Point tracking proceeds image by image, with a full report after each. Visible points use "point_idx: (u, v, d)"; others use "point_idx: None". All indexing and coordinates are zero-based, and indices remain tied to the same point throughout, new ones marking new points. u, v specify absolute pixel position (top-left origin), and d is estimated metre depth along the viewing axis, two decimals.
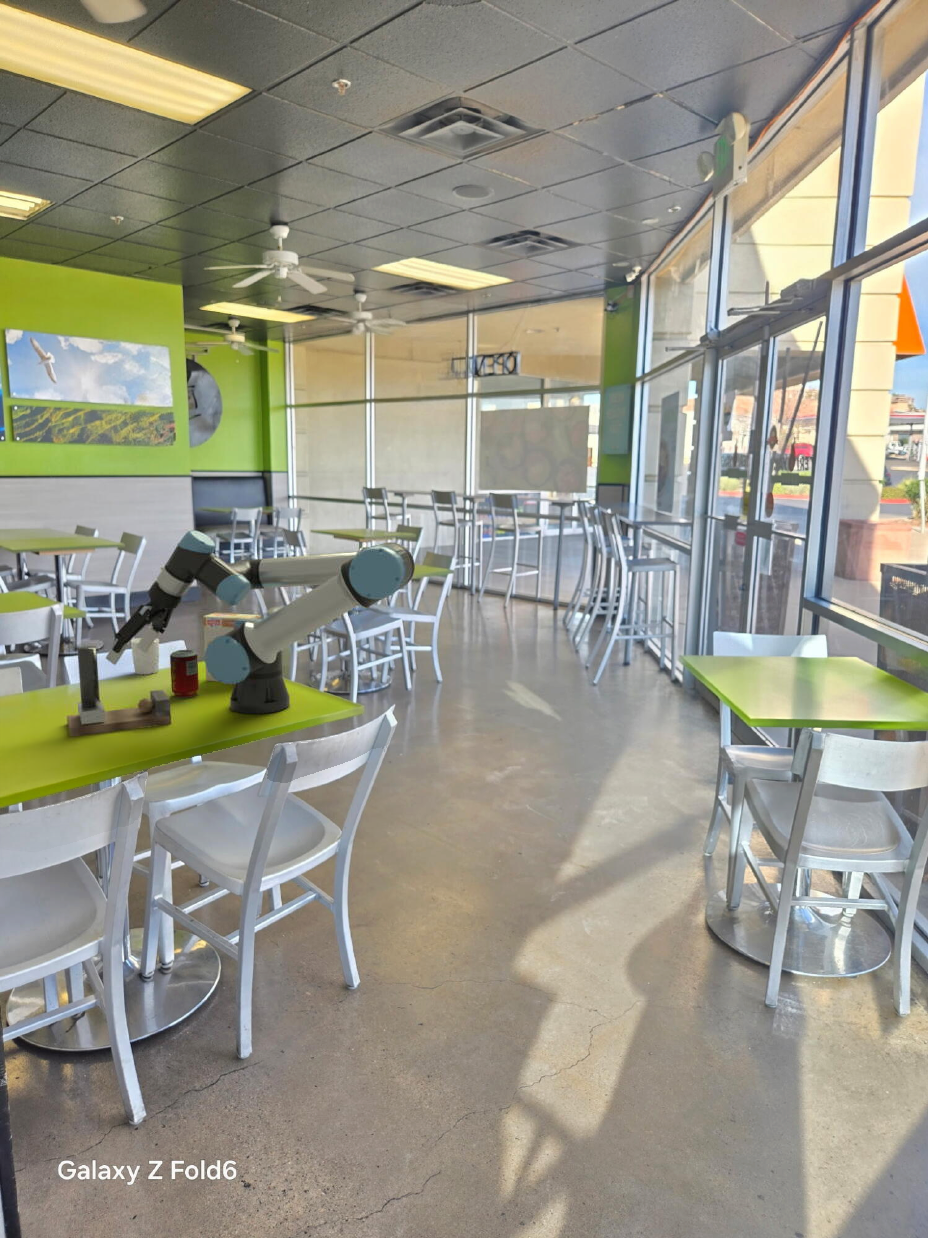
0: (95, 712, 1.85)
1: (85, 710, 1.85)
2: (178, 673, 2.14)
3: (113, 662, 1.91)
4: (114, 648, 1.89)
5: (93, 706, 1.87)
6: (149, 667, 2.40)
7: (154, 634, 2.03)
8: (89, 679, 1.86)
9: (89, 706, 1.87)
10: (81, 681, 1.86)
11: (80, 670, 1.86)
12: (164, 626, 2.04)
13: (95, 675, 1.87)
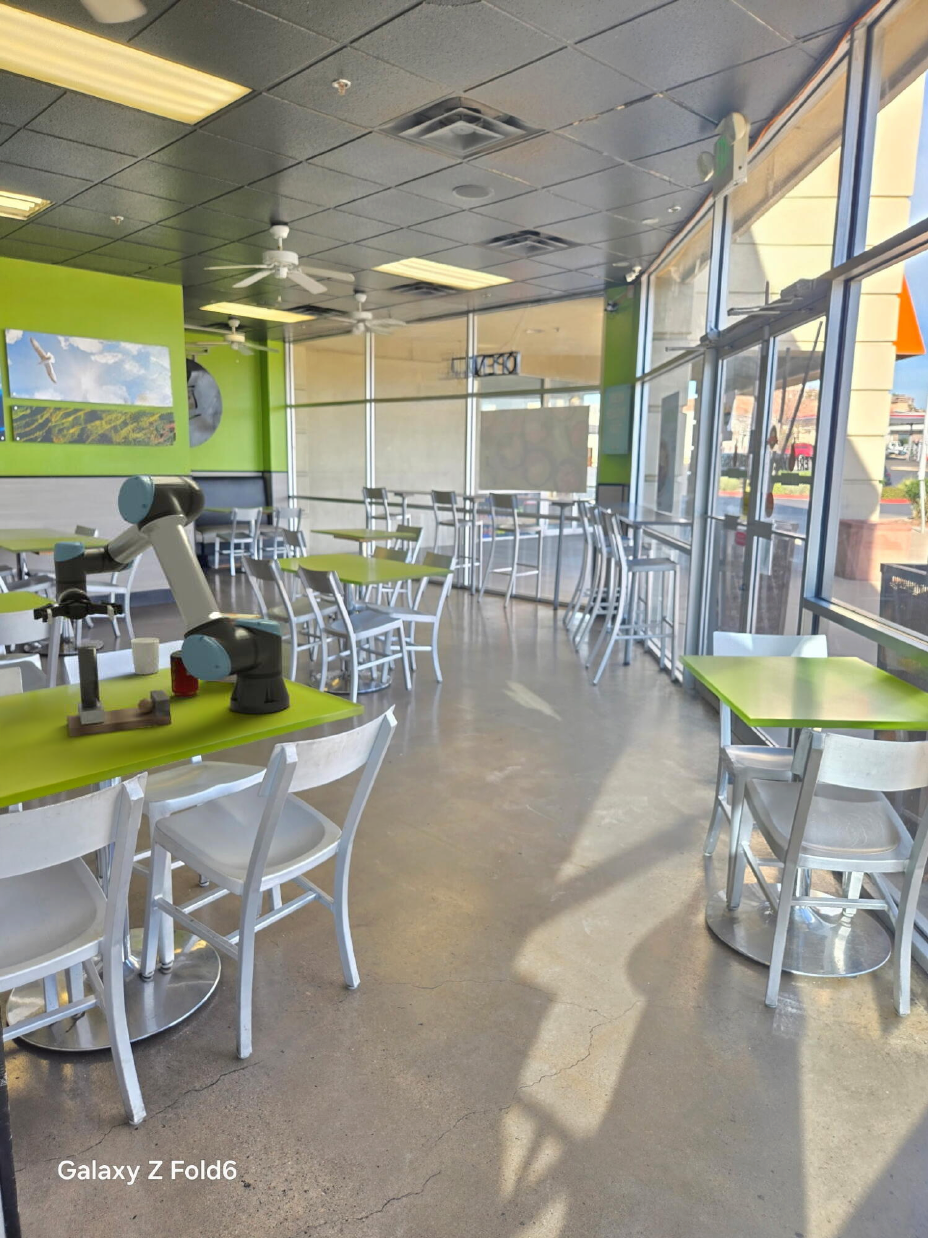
0: (95, 712, 1.85)
1: (85, 710, 1.85)
2: (178, 673, 2.14)
3: (48, 615, 1.90)
4: (42, 617, 1.93)
5: (93, 706, 1.87)
6: (149, 667, 2.40)
7: (107, 608, 2.02)
8: (89, 679, 1.86)
9: (89, 706, 1.87)
10: (81, 681, 1.86)
11: (80, 670, 1.86)
12: (116, 605, 2.05)
13: (95, 675, 1.87)
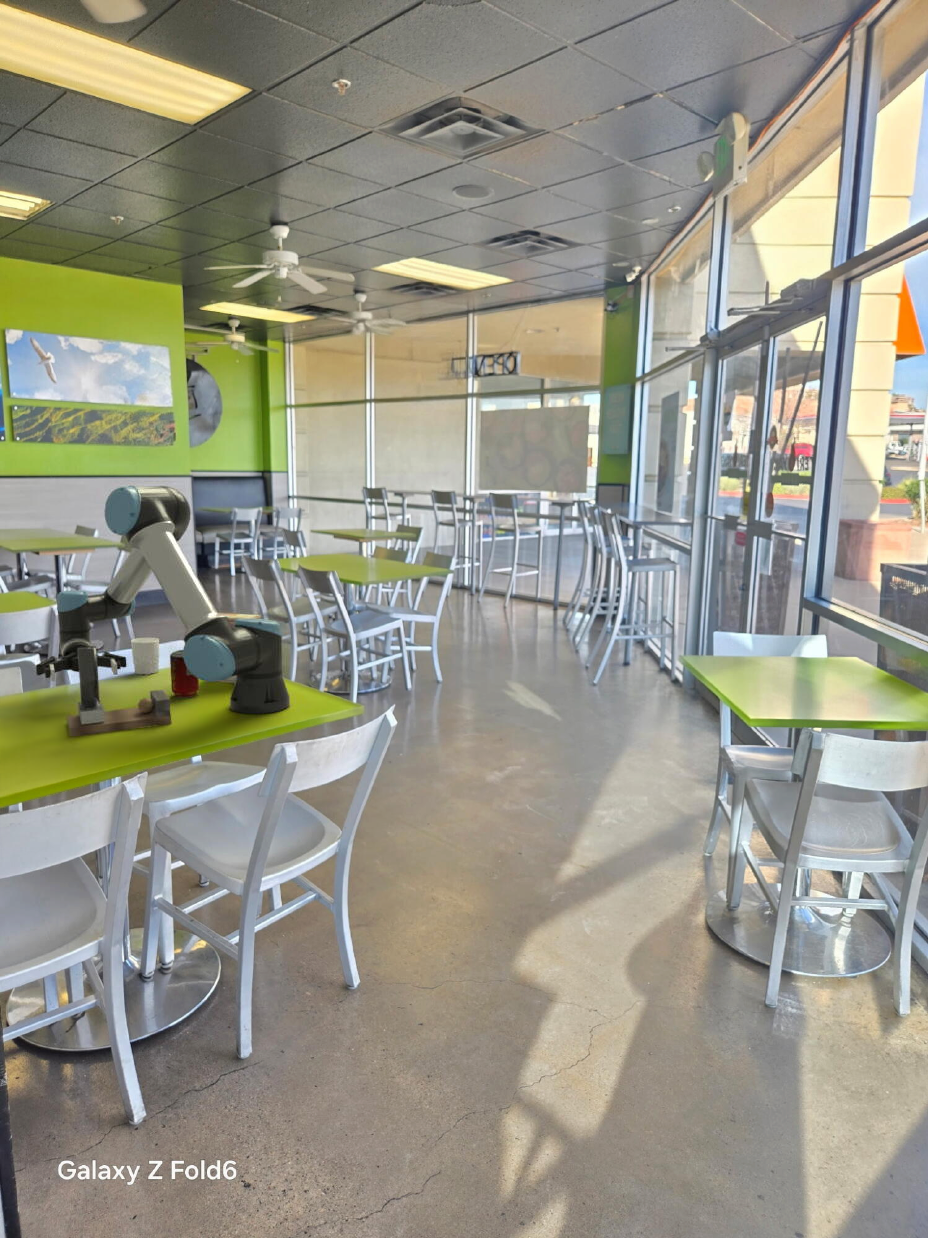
0: (95, 712, 1.85)
1: (85, 710, 1.85)
2: (178, 673, 2.14)
3: (51, 671, 1.88)
4: (45, 673, 1.91)
5: (93, 706, 1.87)
6: (149, 667, 2.40)
7: (111, 661, 1.99)
8: (89, 679, 1.86)
9: (89, 706, 1.87)
10: (81, 681, 1.86)
11: (80, 670, 1.86)
12: (119, 657, 2.02)
13: (95, 675, 1.87)
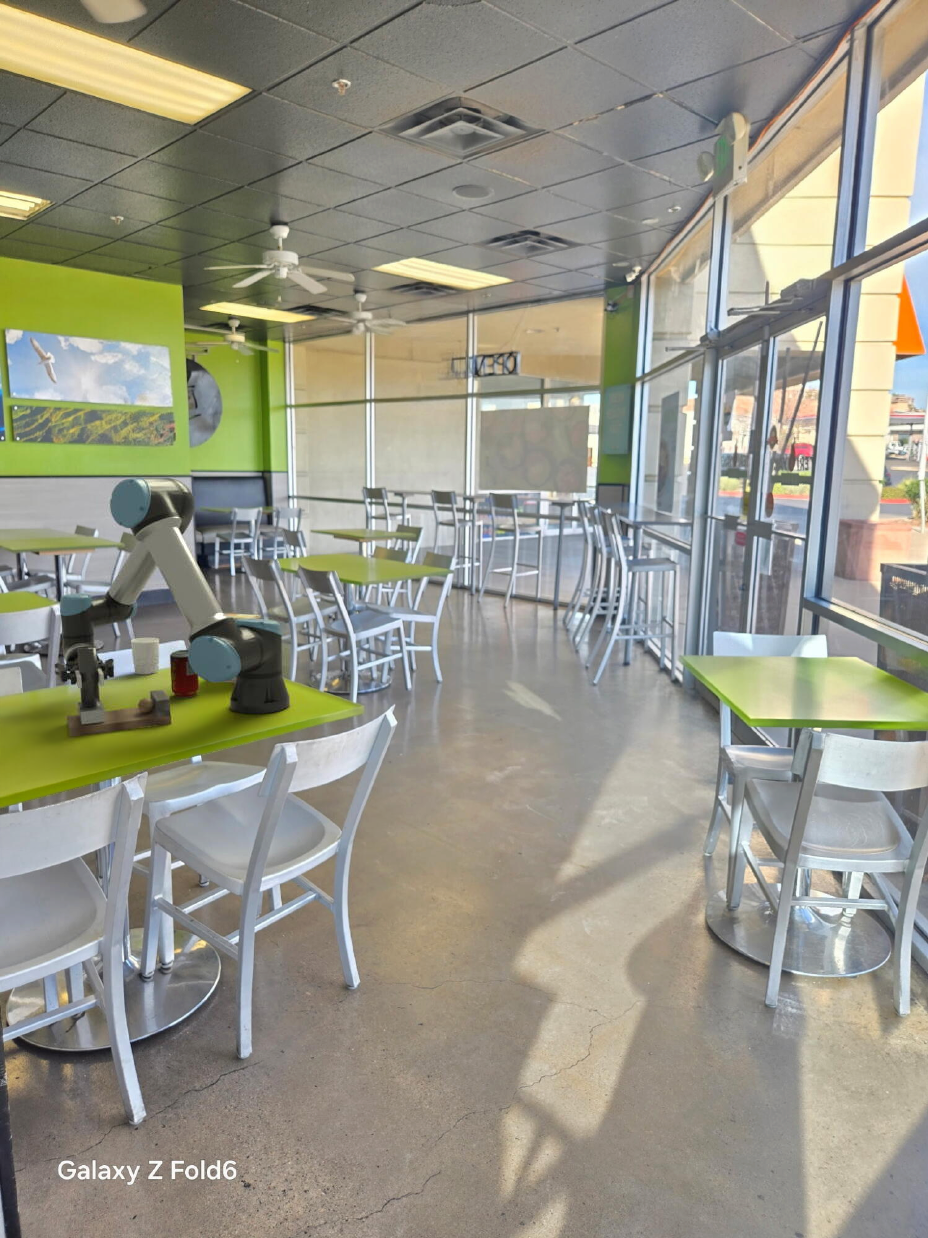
0: (95, 712, 1.85)
1: (85, 710, 1.85)
2: (178, 673, 2.14)
3: (77, 678, 1.82)
4: (71, 680, 1.85)
5: (93, 706, 1.87)
6: (149, 667, 2.40)
7: None
8: (89, 679, 1.86)
9: (89, 706, 1.87)
10: (81, 681, 1.86)
11: (80, 670, 1.86)
12: (107, 666, 1.92)
13: (95, 675, 1.87)
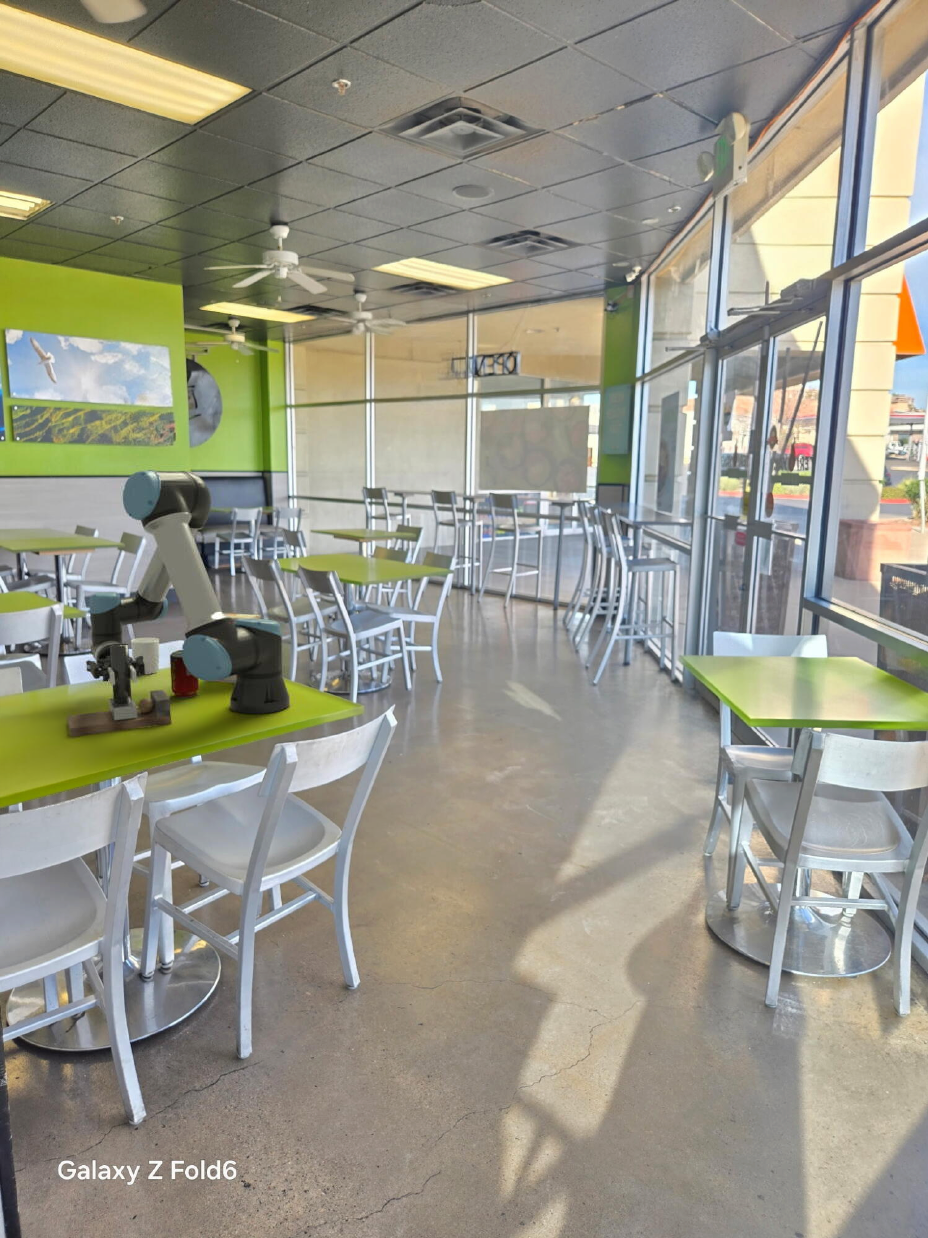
0: (127, 708, 1.89)
1: (118, 706, 1.88)
2: (178, 673, 2.14)
3: (110, 675, 1.85)
4: (104, 677, 1.88)
5: (125, 702, 1.91)
6: (149, 667, 2.40)
7: None
8: (121, 676, 1.89)
9: (121, 702, 1.90)
10: None
11: (113, 667, 1.89)
12: (138, 664, 1.96)
13: (127, 672, 1.90)
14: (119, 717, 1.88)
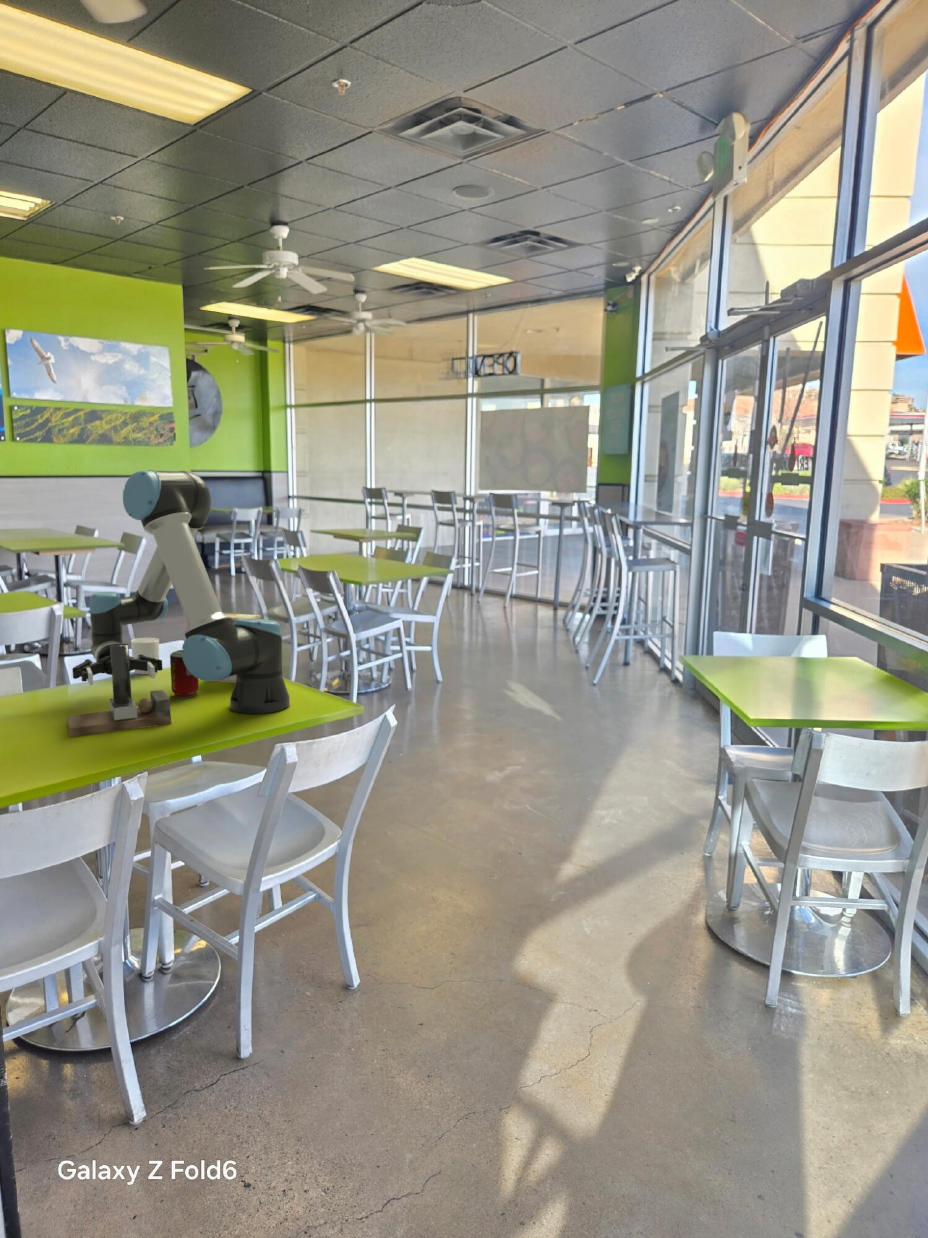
0: (127, 708, 1.89)
1: (118, 706, 1.88)
2: (178, 673, 2.14)
3: (88, 675, 1.85)
4: (82, 677, 1.88)
5: (125, 702, 1.91)
6: None
7: (147, 664, 1.96)
8: (121, 676, 1.89)
9: (121, 702, 1.90)
10: (114, 678, 1.89)
11: (113, 667, 1.89)
12: (155, 660, 1.99)
13: (127, 672, 1.90)
14: (119, 717, 1.88)
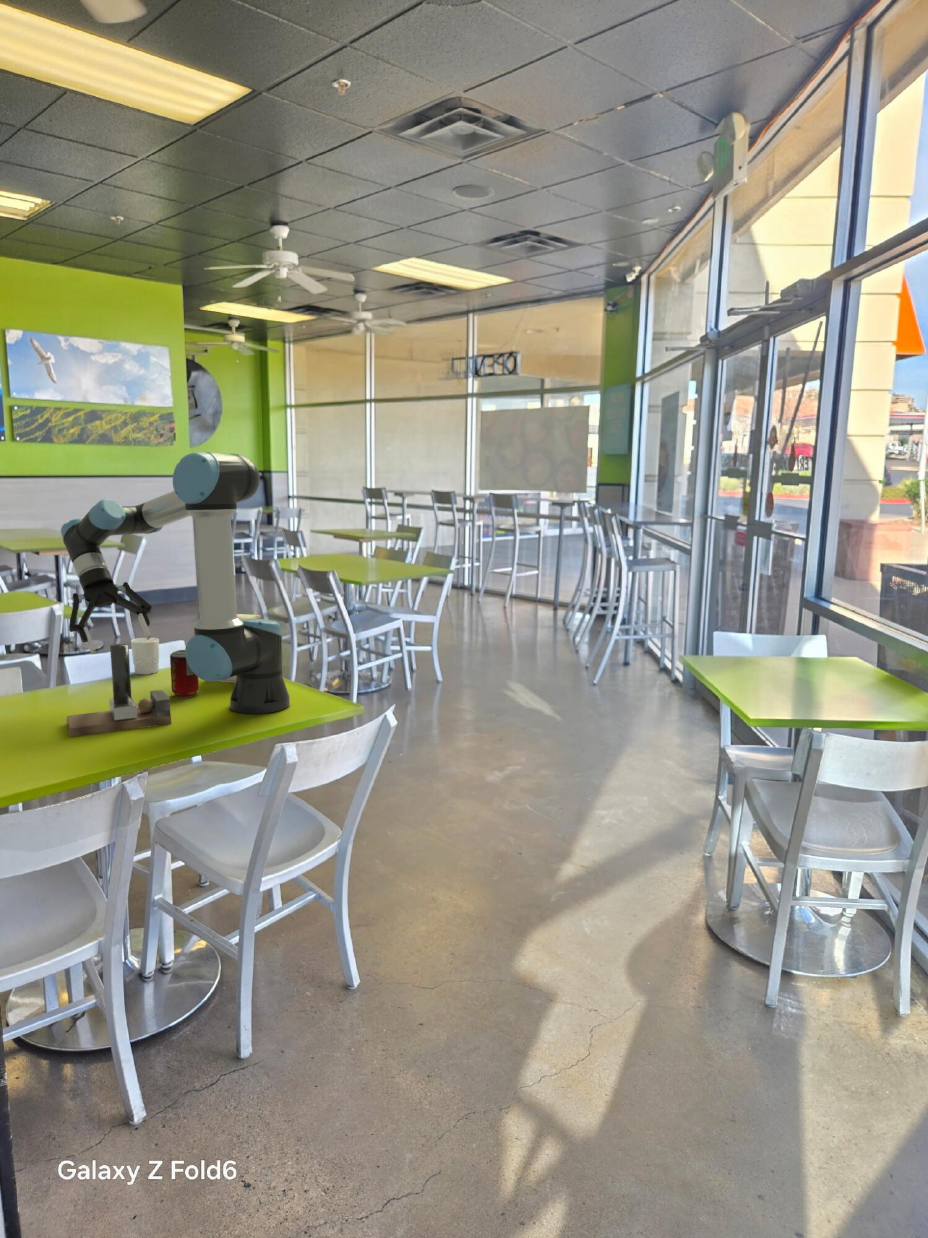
0: (127, 708, 1.89)
1: (118, 706, 1.88)
2: (178, 673, 2.14)
3: (91, 649, 1.98)
4: (81, 639, 1.99)
5: (125, 702, 1.91)
6: (149, 667, 2.40)
7: (139, 617, 2.07)
8: (121, 676, 1.89)
9: (121, 702, 1.90)
10: (114, 678, 1.89)
11: (113, 667, 1.89)
12: (145, 607, 2.08)
13: (127, 672, 1.90)
14: (119, 717, 1.88)
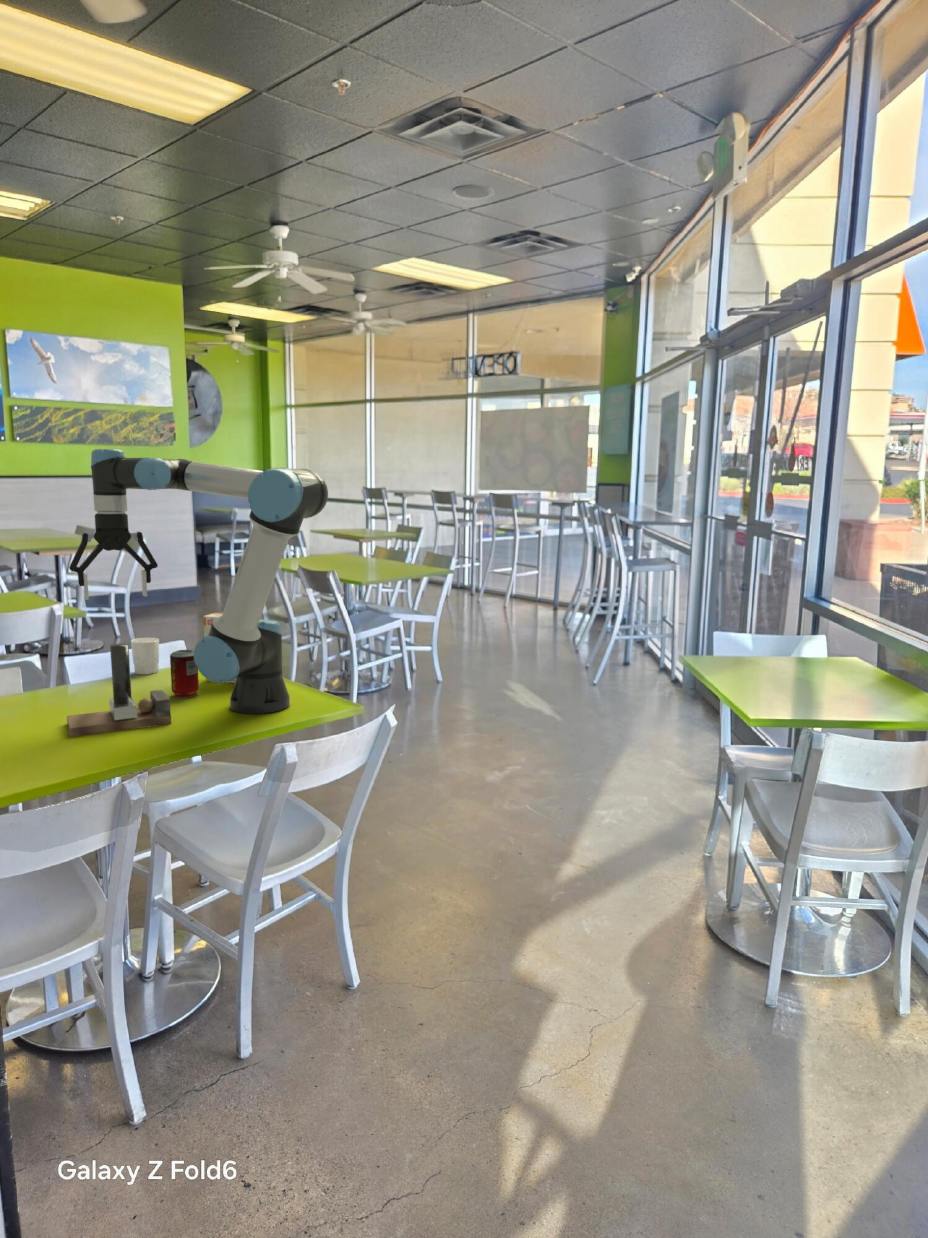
0: (127, 708, 1.89)
1: (118, 706, 1.88)
2: (178, 673, 2.14)
3: (85, 598, 1.97)
4: (78, 582, 1.97)
5: (125, 702, 1.91)
6: (149, 667, 2.40)
7: (142, 573, 2.03)
8: (121, 676, 1.89)
9: (121, 702, 1.90)
10: (114, 678, 1.89)
11: (113, 667, 1.89)
12: (151, 564, 2.03)
13: (127, 672, 1.90)
14: (119, 717, 1.88)
